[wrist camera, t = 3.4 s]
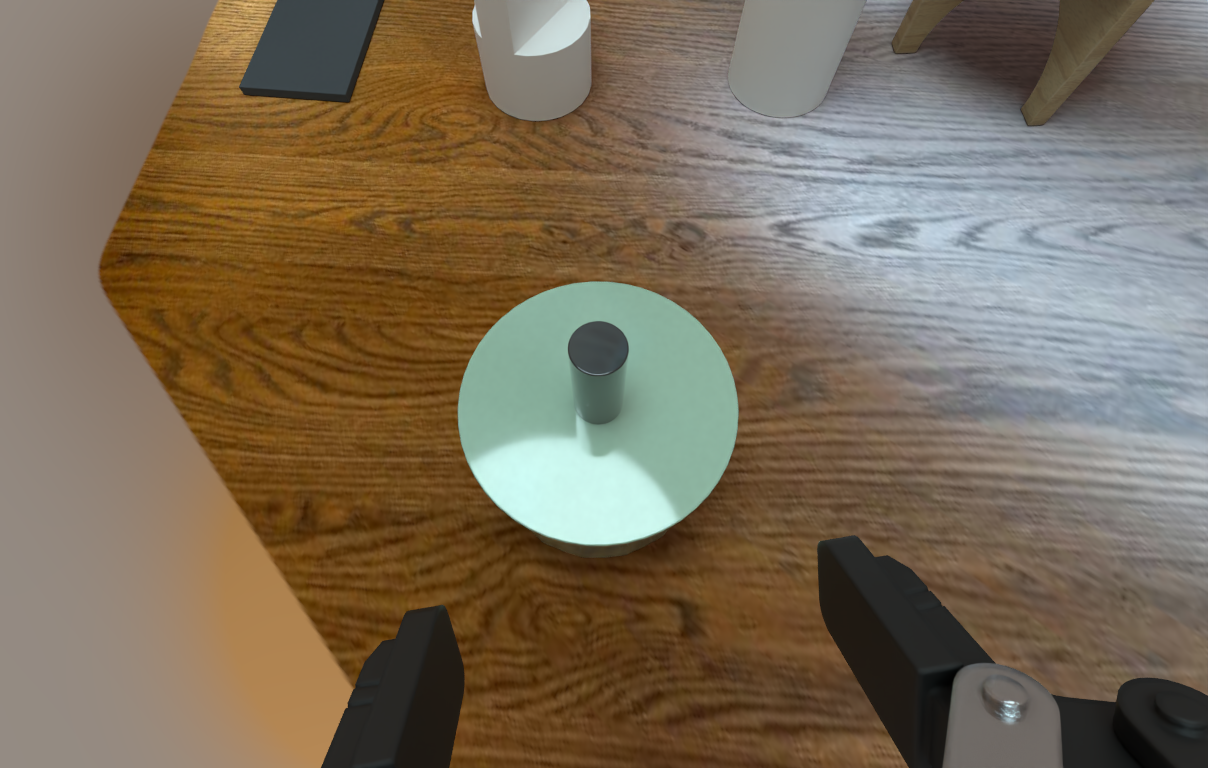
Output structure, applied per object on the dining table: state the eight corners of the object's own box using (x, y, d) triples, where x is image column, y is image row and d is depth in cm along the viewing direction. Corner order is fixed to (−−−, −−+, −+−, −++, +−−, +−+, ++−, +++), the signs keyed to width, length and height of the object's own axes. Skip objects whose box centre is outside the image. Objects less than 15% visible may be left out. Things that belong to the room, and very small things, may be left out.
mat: (349, 102, 49) (345, 94, 48) (244, 94, 49) (238, 86, 49) (396, -38, 56) (394, -46, 55) (304, -44, 56) (300, -53, 55)
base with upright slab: (551, 137, 48) (537, -10, 37) (464, 91, 50) (426, -62, 39) (611, 71, 51) (615, -84, 40) (527, 30, 53) (508, -129, 41)
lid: (608, 614, 26) (612, 611, 19) (406, 418, 29) (349, 358, 23) (787, 401, 30) (841, 337, 23) (590, 249, 33) (588, 155, 26)
